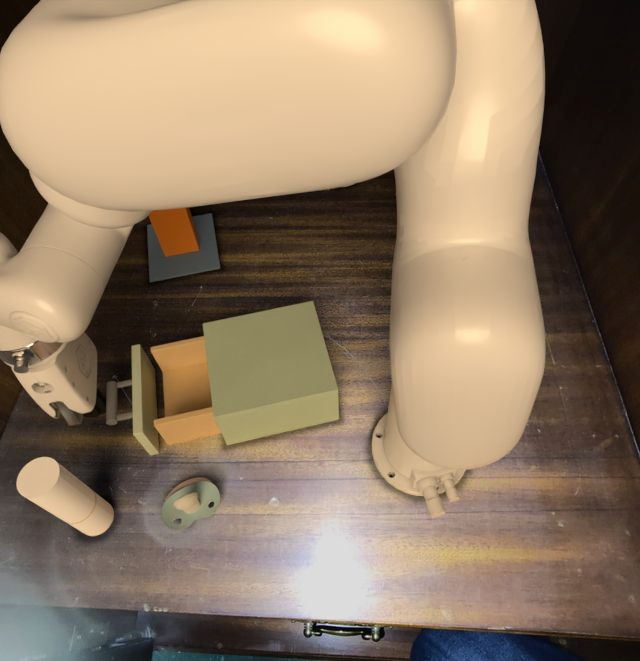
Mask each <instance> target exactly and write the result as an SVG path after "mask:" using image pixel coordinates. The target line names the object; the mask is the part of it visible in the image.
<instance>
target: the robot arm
mask: <svg viewBox="0 0 640 661" xmlns="http://www.w3.org/2000/svg"><path fill="white" fill-rule="evenodd" d="M545 62H546V61H545V50H544V41H543V34H542V27H541V22H540V18H539V13H538V9H537V3H536V0H39V1H38V2H37V4H36V5H34V6H33V8H32V9H31V10H30V11H29V13H27V14H26V16H25V17H24V18H23V19H21V21H20V22H19V23H18V24H17V25H16V26H15V27H14V28H13V29H12V31H11V32H10V34H9V36H8V38H7V39H6V41H5V42H4V44H3V46H2V47H1V49H0V126H1V130H2V133H3V135H4V137H5V139H6V140H7V142H8V144H9V146H10V147H11V149H12V151H13V152H14V154H15V155H16V156H17V157H18V159H19V160H20V161H21V163H22V164H23V165H24V167H26V169H27V170H28V173H29V176H30V178H31V181H32V183H33V184H34V187H35V188H36V190H37V191H38V193H39V194H40V195H41V197H42V198H43V199H44V200H45V201H46V202H47V205H46V207H45V208H44V210H43V213H42V214H41V215H40V217H39V218H38V220H37V222H36V223H35V225H34V227H33V228H32V230H31V232H30V234H29V235H28V237H27V239H26V240H25V242H24V243H23V245H22V246H21V248H20V250H19V251H18V249H16V247H15V246H14V245H13V243H12V242H11V241H10V239H9V238H8V237H7V236H6V235H4V234H3V233H2V232H0V360H1V361H2V362H3V363H4V364H6V365H7V366H9V367H10V368H11V371H12V373H13V374H14V376H15V377H16V379H17V380H18V381H19V383H20V385H21V386H22V387H23V389H24V390H25V391H26V393H27V394H28V395H29V396H30V397H31V398H32V400H33V401H34V402H35V403H36V404H37V405H38V406H39V408H41V409H42V410H43V412H45V413H46V414H47V415H49V416H50V417H52V418H53V419H55V420H58V419H59V418H60V417H61V416H62V417H63V418H64V420H65V421H66V423H67V425H68V426H69V427H75V426H79V425H82V423H83V418H89V419H93V418H98V417H99V416H100V415H106V395H104V393H103V391H102V390H101V389H100V388H99V387H97V383H98V351H97V348H96V345H95V344H94V342H93V341H92V339H91V338H90V337H89V336H88V335H87V332H86V331H87V329H88V327H89V326H90V323H91V321H92V319H93V317H94V315H95V313H96V310H97V309H98V306H99V303H100V301H101V300H102V298H103V294H104V292H105V290H106V287H107V285H108V283H109V280H110V278H111V276H112V274H113V271H114V269H115V267H116V265H117V263H118V260H119V259H120V256H121V255H122V252H123V250H124V248H125V246H126V243H127V241H128V239H129V237H130V235H131V232H132V231H133V228H134V226H135V225H136V224H138V223H140V222H142V221H143V220H145V219H146V218H148V217H149V214H150V213H151V212H152V211H153V210H169V209H179V208H188V207H189V208H195V207H196V208H197V207H204V206H209V205H217V204H218V205H219V204H225V203H234V202H241V201H247V200H255V199H263V198H272V197H279V196H286V195H287V196H288V195H294V194H301V193H310V192H318V191H326V190H331V189H338V188H344V187H343V186H347V185H350V186H352V185H351V184H353V185H355V184H358V183H362V182H365V181H369V180H372V179H375V178H378V177H381V176H382V175H384V174H386V173H389V172H391V171H392V170H393V172H394V180H395V193H396V195H395V197H396V198H395V201H396V237H395V246H394V250H393V251H394V252H393V257H392V258H393V259H392V268H391V284H390V285H391V286H390V288H391V289H390V312H389V313H390V314H389V316H390V317H389V365H390V366H389V368H390V377H391V386H390V395H389V402H388V408H387V409H388V410H387V412H385V413H384V414H383V416H381V418H380V419H379V420H378V422H377V424H376V425H375V427H374V430H373V433H372V436H371V437H372V438H371V454H372V455H371V456H372V459H373V462H374V464H375V467H376V469H377V471H378V472H379V474H380V475H381V476H382V478H383V479H384V480H385V481H386V482H387V484H389V485H391V486H392V487H394V488H395V489H396V490H398V491H400V492H403V493H405V494H408V495H412V496H415V497H416V496H417V497H423V498H424V501H425V506H426V509H427V512H428V516H429V517H430V518H431V519H434V518H439V517H441V516H444V515H445V514H446V513H447V512H446V509H445V507H444V503H443V501H442V497H440V495H441V494H443V493H445V494H446V497H447V500H448V502H449V503H455V502H457V501H459V500H461V497H460V495H459V492H458V489H457V487H456V485H457V484H458V483H459V482H460V481H461V479H462V478H463V476H464V475H465V472H466V470H474V469H479V468H483V467H486V466H489V465H491V464H493V463H495V462H497V461H499V460H501V459H503V458H504V457H505V456H506V455H508V454H509V453H510V452H511V451H513V449H514V448H515V447H516V446H517V444H519V441H520V440H521V438H522V437H523V435H524V433H525V430H526V427H527V424H528V422H529V419H530V416H531V413H532V410H533V407H534V405H535V403H536V402H535V401H536V399H537V396H538V394H539V390H540V387H541V384H542V381H543V377H544V375H545V374H544V372H545V367H546V356H547V354H546V353H547V351H546V349H547V347H546V331H545V322H544V316H543V309H542V302H541V296H540V293H539V292H540V291H539V285H538V281H537V274H536V269H535V263H534V262H535V261H534V257H533V251H532V247H531V240H530V236H529V234H530V233H529V219H530V218H529V217H530V211H531V205H532V204H531V203H532V198H533V191H534V185H535V180H536V174H537V164H538V156H539V147H540V142H541V136H542V128H543V120H544V110H545V96H546V65H545V64H546V63H545ZM347 187H348V186H347ZM390 476H392V477H390Z"/></svg>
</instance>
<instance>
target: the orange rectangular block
mask: <svg viewBox="0 0 640 661" xmlns="http://www.w3.org/2000/svg"><path fill="white" fill-rule="evenodd" d="M192 217H193V216H192V212H191V210H190V207H188V208H179V209H169V210H153V211H152V212H151V213H150V214H149V216H148V218H149V221H150V223H151V224H152V226H153V228H154V231H155V233H156V236H157V238H158V240H159V243H160V245H161V248H162V250H163V252H164V255H165V257H168V256H173V255H178V254H183V253H188V252H194V251H199V242H198V234H197V231H196V228H195V225H194V221H193V218H192Z"/></svg>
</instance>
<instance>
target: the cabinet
mask: <svg viewBox="0 0 640 661" xmlns="http://www.w3.org/2000/svg"><path fill="white" fill-rule="evenodd" d="M202 331H203V336H204V340H205V348H206V357H207V365H208V374H209V382H210V390H211V399H212V407H213V416H214V419H215V421H216V423H217V425H218V427H219V429H220V431H221V436H222V438H223V439H224V442H225V444H226V446H229V445H234V444H235V445H236V444H240V443H244V442H249V441H253V440H256V439H260V438H265V437H269V436H274V435H278V434H282V433H287V432H291V431H295V430H300V429H304V428H309V427H313V426H317V425H321V424H326V423H331V422H335V421H338V420H339V421H340V406H339V405H340V401H339V388H338V383H337V379H336V377H335V372H334V370H333V365H332V363H331V362H332V361H331V358H330V355H329V352H328V349H327V345H326V341H325V338H324V337H325V336H324V334H323V331H322V327H321V323H320V320H319V317H318V313H317V310H316V306H315V302H314V300H310V301H304V302H300V303H294V304H291V305H286V306H285V305H284V306H281V307H276V308H272V309H271V308H270V309H266V310H261V311H256V312H252V313H251V312H250V313H246V314H241V315H237V316H232V317H227V318H223V319H218V320H212V321H207V322H203V323H202Z"/></svg>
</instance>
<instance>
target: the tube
mask: <svg viewBox="0 0 640 661" xmlns="http://www.w3.org/2000/svg"><path fill="white" fill-rule="evenodd" d="M15 482H16V486H15V487H16V490H17V492H18V493H19V494H20V495H21V496H22V497H24V498H25V499H27V500H28V501H30V502H32V503H34V504H35V505H37V506H38V507H40V508H42V509H43V510H45V511H46V512H48V513H50V514H51V515H52V516H55V518H57V519H59V520H61V521H63V522H64V523H66V524H68V525H70V526H71V527H73V528H74V529H76V530H77V531H79V532H80V533H82V534H84V535H86V536H89V537H97V536H99V535H102V534H104V533H105V532H106V531H107V530H108V529H109V528H110V527H111V525H112V524H113V521H114V518H115V511H114V508H113V506H112V504H111V503H109V502H108V501H107V500H105V498H103V497H101V495H99V494H98V493H97V492H96V491H94V490H93V489H92V488H90V486H88V485H87V484H86V483H85V482H83V481H82V480H80V479H79V478H78V477H76V476H75V475H74V474H73V473H72V472H71V471H69V470H68V469H67V468H65V467H64V466H63V465H62V464H61V463H59V462H58V461H57V460H56V459H54V458H52V457H49V456H41V457H36V458H34V459H32V460H30V461H29V462H28V463H26V464H25V465H24V466H23V467H22V468H21V470H20V471H19V473H18V474H17V478H16V481H15Z"/></svg>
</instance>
